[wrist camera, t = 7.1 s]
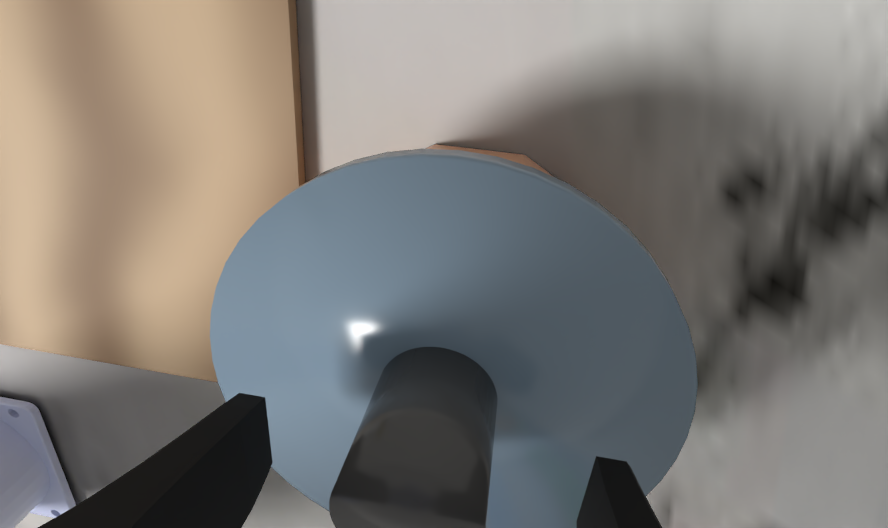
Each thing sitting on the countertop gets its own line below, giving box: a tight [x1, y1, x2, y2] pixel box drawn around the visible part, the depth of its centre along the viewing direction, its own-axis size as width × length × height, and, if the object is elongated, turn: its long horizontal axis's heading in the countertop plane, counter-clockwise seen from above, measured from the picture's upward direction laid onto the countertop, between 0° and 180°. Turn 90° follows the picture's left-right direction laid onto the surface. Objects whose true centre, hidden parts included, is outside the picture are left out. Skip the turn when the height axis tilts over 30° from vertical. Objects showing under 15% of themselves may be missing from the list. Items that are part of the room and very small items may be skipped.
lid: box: [210, 149, 698, 528], centre depth 11 cm, size 12×12×4 cm
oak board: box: [0, 0, 305, 382], centre depth 18 cm, size 15×15×1 cm
